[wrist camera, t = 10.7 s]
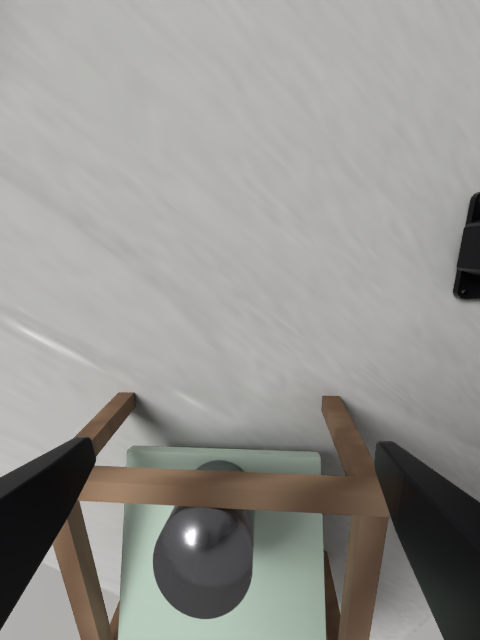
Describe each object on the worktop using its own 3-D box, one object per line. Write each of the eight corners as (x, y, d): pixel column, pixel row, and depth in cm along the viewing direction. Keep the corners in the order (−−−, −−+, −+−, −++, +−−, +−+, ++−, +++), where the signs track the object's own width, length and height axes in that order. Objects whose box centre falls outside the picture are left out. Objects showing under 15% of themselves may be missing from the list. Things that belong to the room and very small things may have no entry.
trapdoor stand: (339, 396, 20) (392, 495, 12) (325, 561, 25) (357, 713, 17) (118, 392, 22) (33, 479, 14) (145, 549, 27) (94, 683, 18)
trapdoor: (317, 452, 19) (320, 457, 18) (323, 670, 18) (327, 689, 17) (133, 445, 20) (126, 450, 19) (124, 649, 19) (116, 666, 18)
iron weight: (255, 461, 18) (252, 512, 13) (255, 537, 18) (252, 623, 12) (185, 458, 19) (153, 507, 13) (184, 533, 18) (151, 614, 13)
